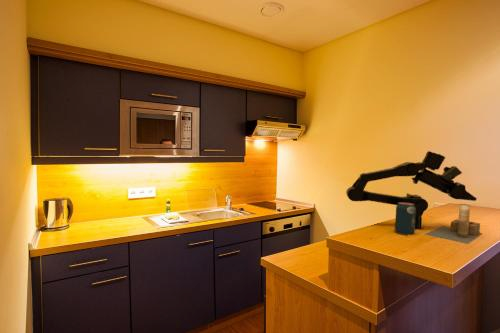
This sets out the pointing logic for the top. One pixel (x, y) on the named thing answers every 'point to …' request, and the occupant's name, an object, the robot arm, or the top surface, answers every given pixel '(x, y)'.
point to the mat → (451, 235)
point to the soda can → (405, 218)
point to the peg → (463, 220)
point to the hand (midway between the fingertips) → (471, 197)
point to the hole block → (472, 231)
